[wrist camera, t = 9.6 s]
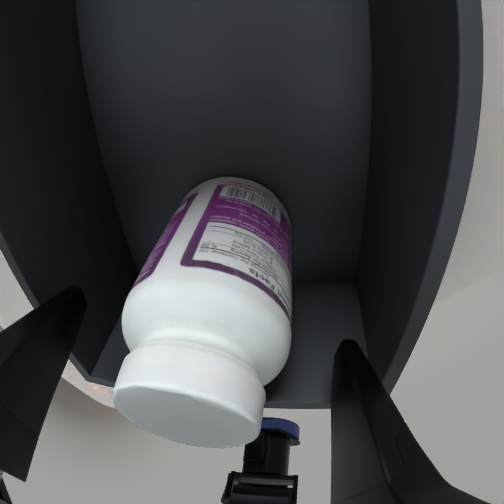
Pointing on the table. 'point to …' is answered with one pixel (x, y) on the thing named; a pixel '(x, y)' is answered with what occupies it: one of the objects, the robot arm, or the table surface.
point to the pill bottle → (209, 318)
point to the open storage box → (242, 156)
